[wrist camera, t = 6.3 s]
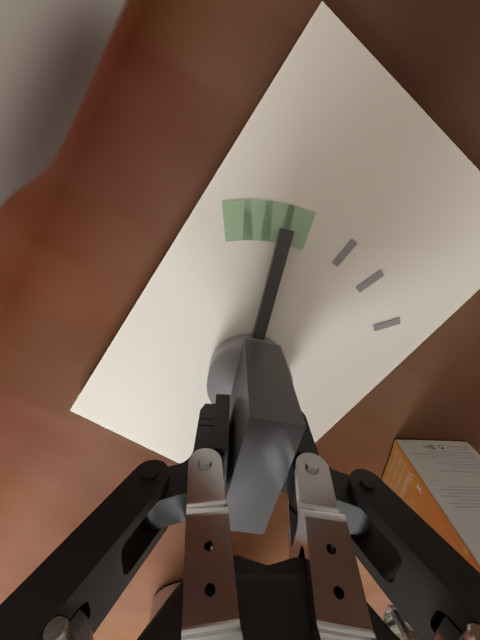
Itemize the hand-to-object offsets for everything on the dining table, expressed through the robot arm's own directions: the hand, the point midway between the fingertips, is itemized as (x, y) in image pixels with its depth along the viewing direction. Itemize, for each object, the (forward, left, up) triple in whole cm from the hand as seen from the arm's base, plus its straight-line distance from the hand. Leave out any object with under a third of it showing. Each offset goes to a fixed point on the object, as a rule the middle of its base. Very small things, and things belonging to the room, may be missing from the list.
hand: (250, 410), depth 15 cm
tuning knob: (+3, +1, -4) cm, 5 cm away
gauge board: (+3, 0, -6) cm, 6 cm away
